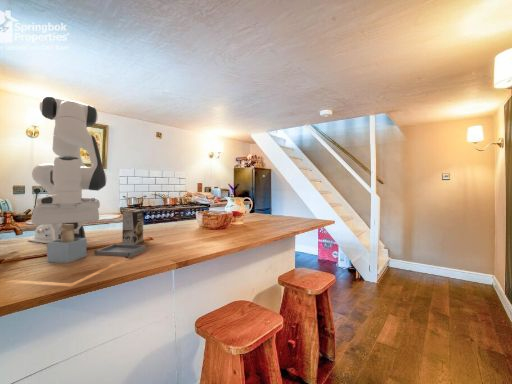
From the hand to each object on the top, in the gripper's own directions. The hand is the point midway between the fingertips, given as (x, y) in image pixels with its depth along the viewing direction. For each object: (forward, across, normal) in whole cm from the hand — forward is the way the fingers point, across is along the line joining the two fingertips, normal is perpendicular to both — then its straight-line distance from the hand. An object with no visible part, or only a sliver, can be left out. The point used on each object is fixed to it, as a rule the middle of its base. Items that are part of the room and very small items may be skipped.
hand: (67, 234), depth 93 cm
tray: (+10, -18, 0) cm, 21 cm away
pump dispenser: (+10, -2, -18) cm, 21 cm away
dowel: (+9, 0, 0) cm, 9 cm away
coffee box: (+10, -27, -17) cm, 33 cm away
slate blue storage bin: (+10, 0, 0) cm, 10 cm away
